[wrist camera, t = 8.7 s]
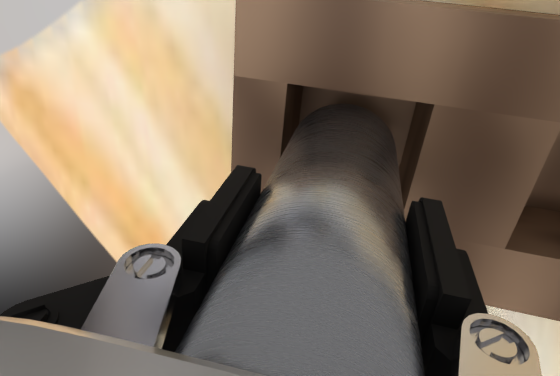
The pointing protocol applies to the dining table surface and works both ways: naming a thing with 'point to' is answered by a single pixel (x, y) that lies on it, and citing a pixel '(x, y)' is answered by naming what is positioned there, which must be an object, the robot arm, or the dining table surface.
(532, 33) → the hole block
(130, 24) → the dining table surface
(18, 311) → the robot arm
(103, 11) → the dining table surface
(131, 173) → the dining table surface
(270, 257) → the pin
